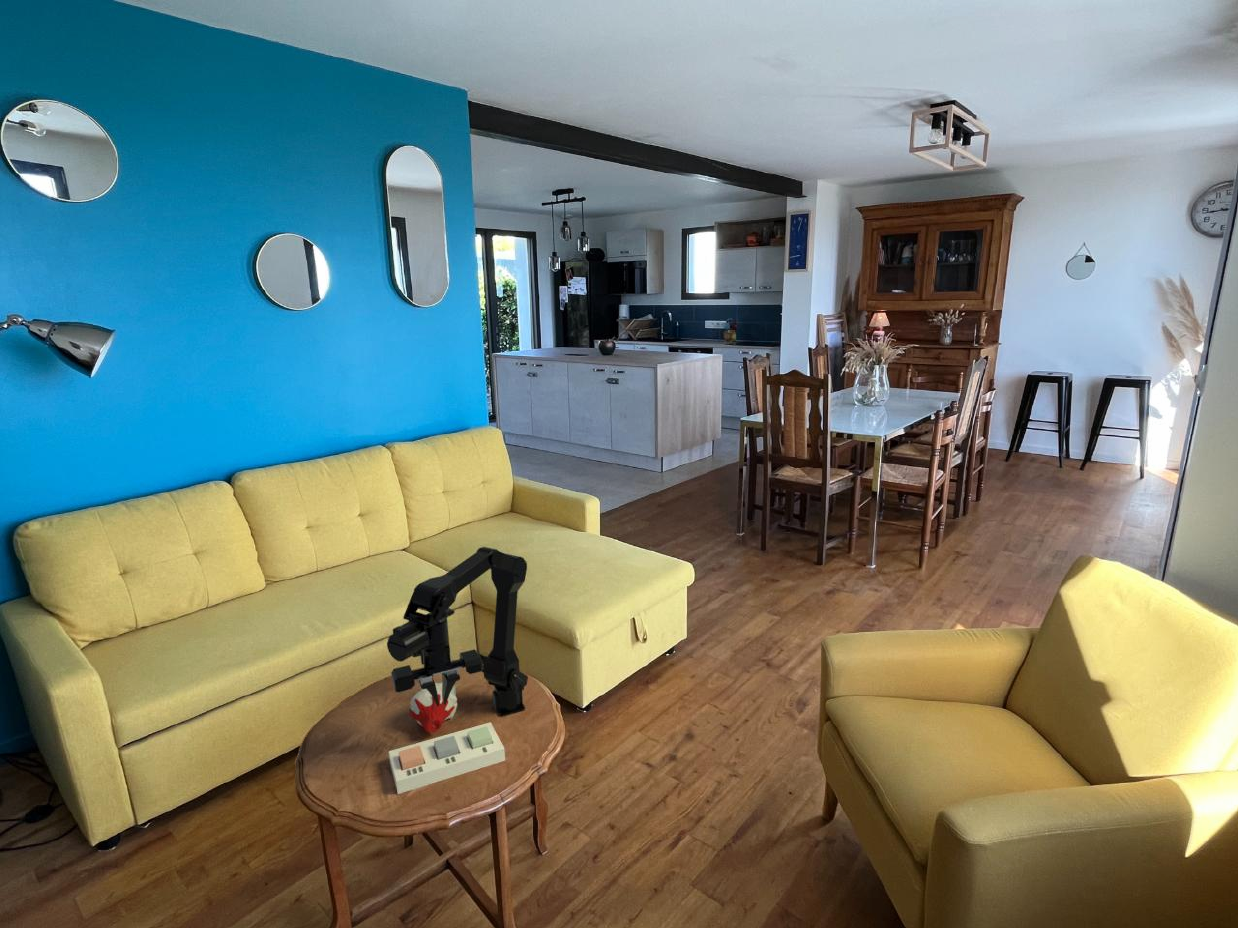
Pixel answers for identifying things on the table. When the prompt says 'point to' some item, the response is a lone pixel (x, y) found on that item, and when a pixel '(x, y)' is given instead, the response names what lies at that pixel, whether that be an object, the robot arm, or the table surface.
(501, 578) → the robot arm
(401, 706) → the table surface
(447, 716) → the red irregular piece
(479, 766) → the button board
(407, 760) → the terracotta tile
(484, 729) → the sage tile
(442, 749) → the slate tile
